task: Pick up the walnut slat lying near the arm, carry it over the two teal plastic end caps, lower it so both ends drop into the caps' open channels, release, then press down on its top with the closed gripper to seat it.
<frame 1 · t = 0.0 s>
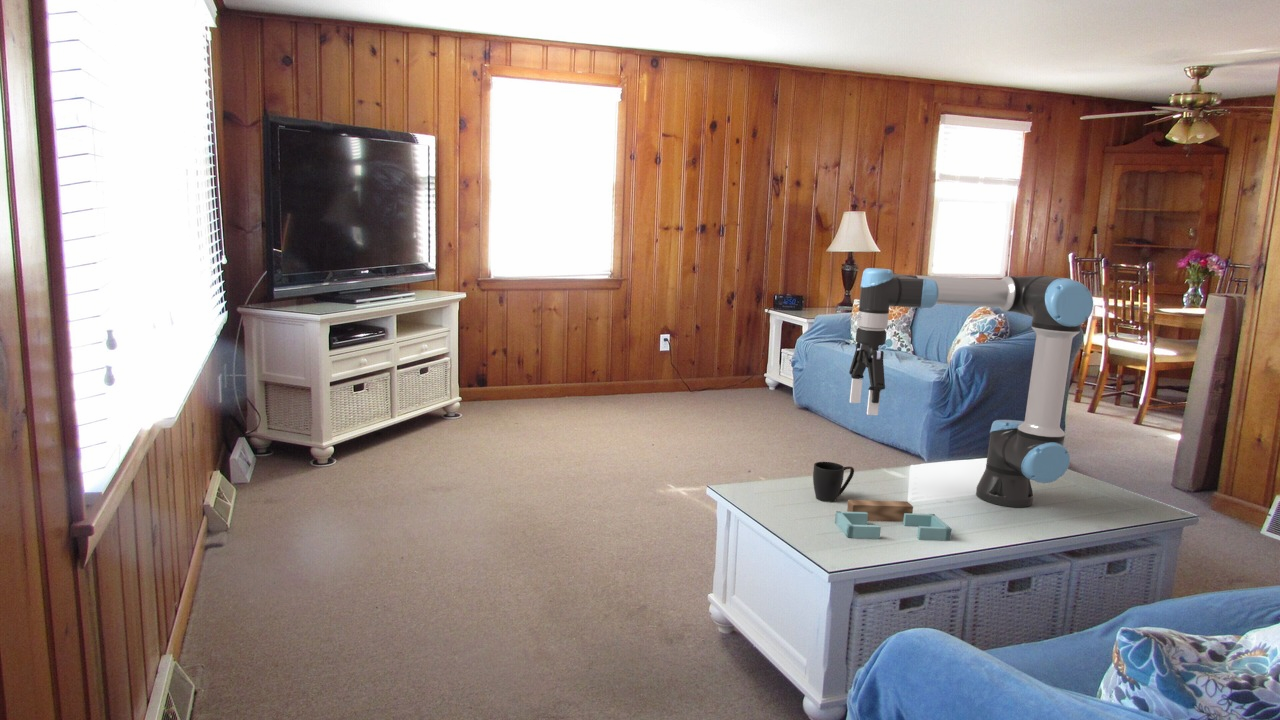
hand: (863, 408, 225), 28 cm above the table, fingers open, 13 cm apart
mug: (831, 499, 239), on the table
cap a: (926, 532, 217), on the table
cap b: (856, 530, 215), on the table
slat: (878, 519, 225), on the table
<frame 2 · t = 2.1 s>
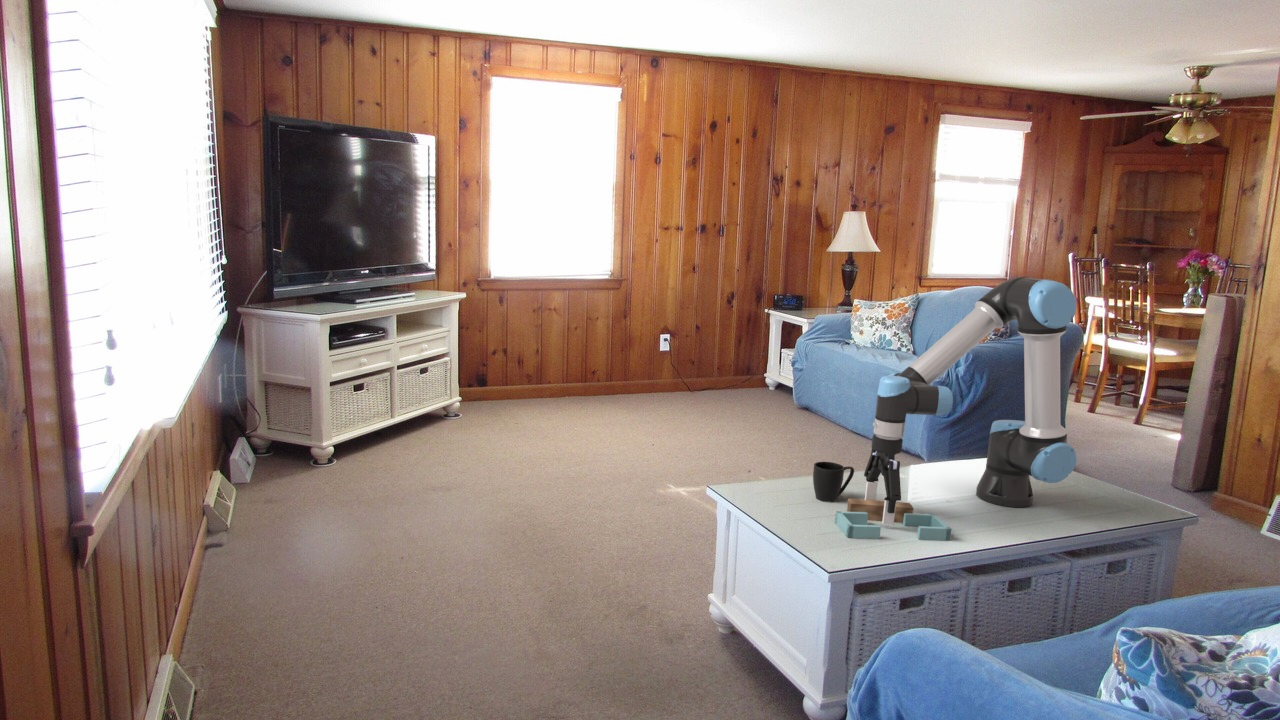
hand: (878, 514, 224), 1 cm above the table, fingers open, 13 cm apart
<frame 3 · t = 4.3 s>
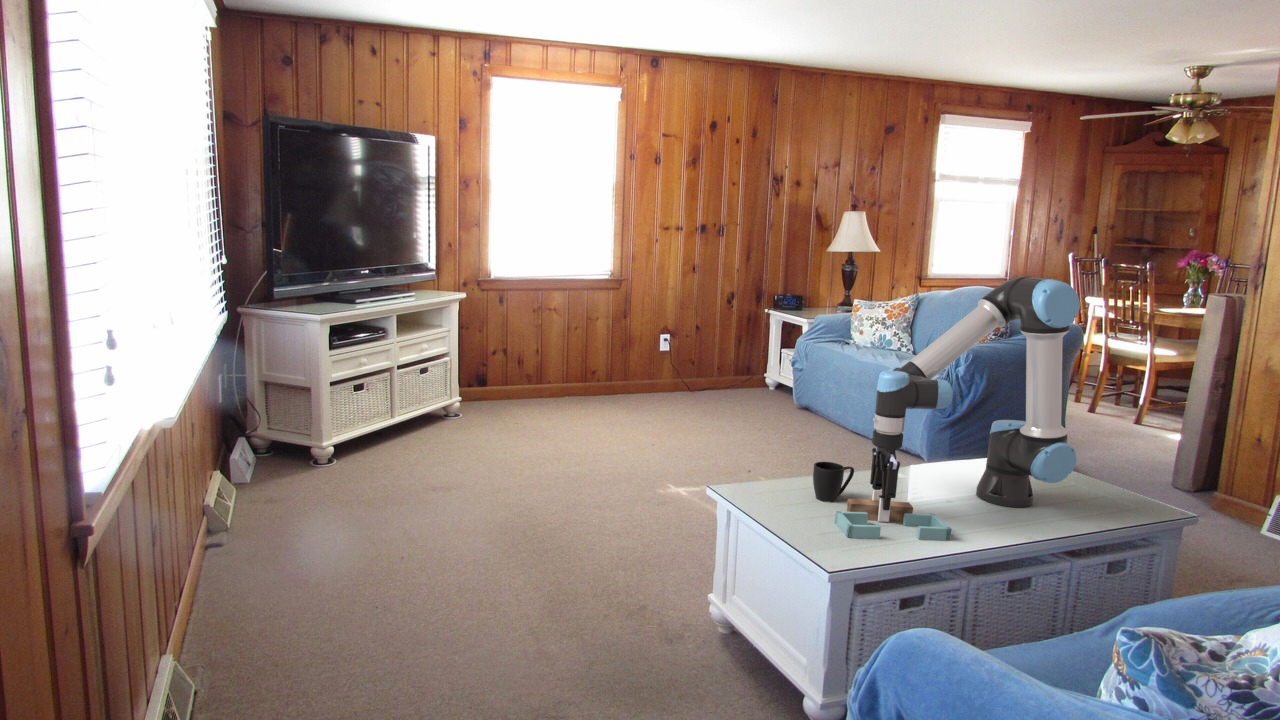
hand: (879, 517, 225), 0 cm above the table, fingers closed on slat, 4 cm apart
slat: (878, 519, 225), on the table, touching gripper
everything else where it was.
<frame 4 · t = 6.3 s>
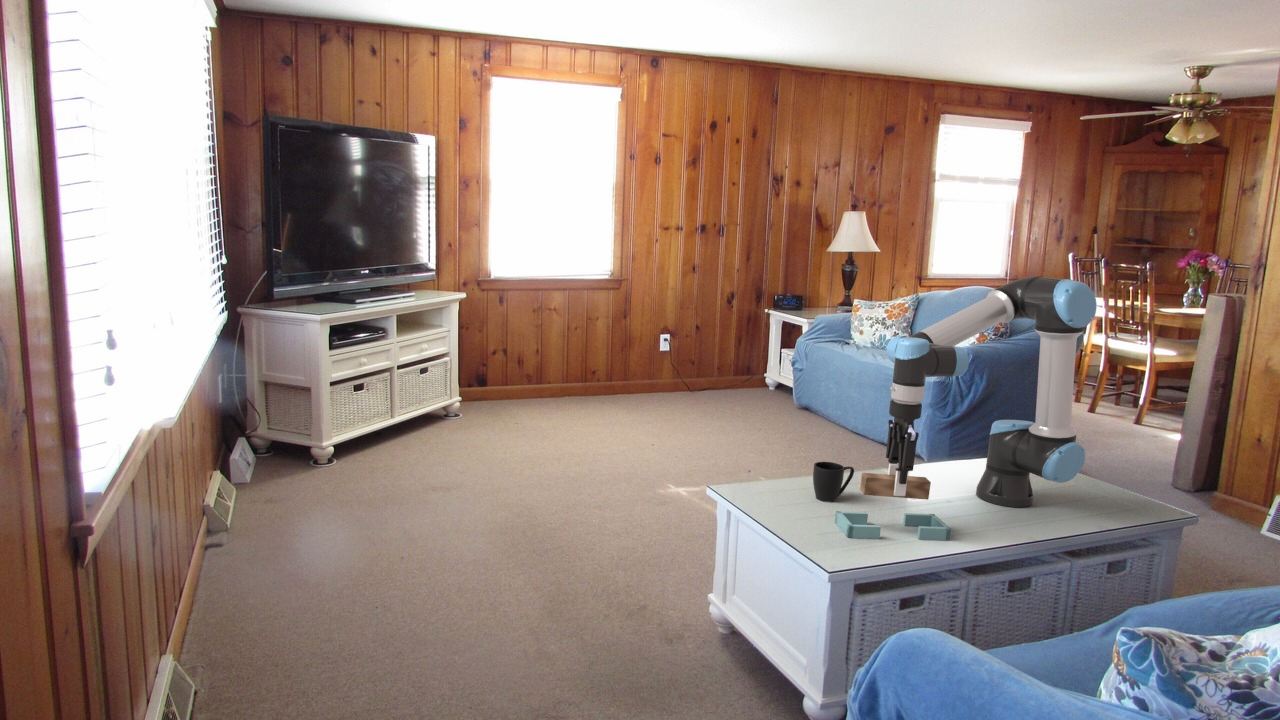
hand: (895, 492, 214), 10 cm above the table, fingers closed on slat, 4 cm apart
slat: (893, 494, 214), point 10 cm above the table, touching gripper
everything else where it was.
when the fingers open (1 cm above the table, at t = 8.0 s): slat stays where it is, on the table.
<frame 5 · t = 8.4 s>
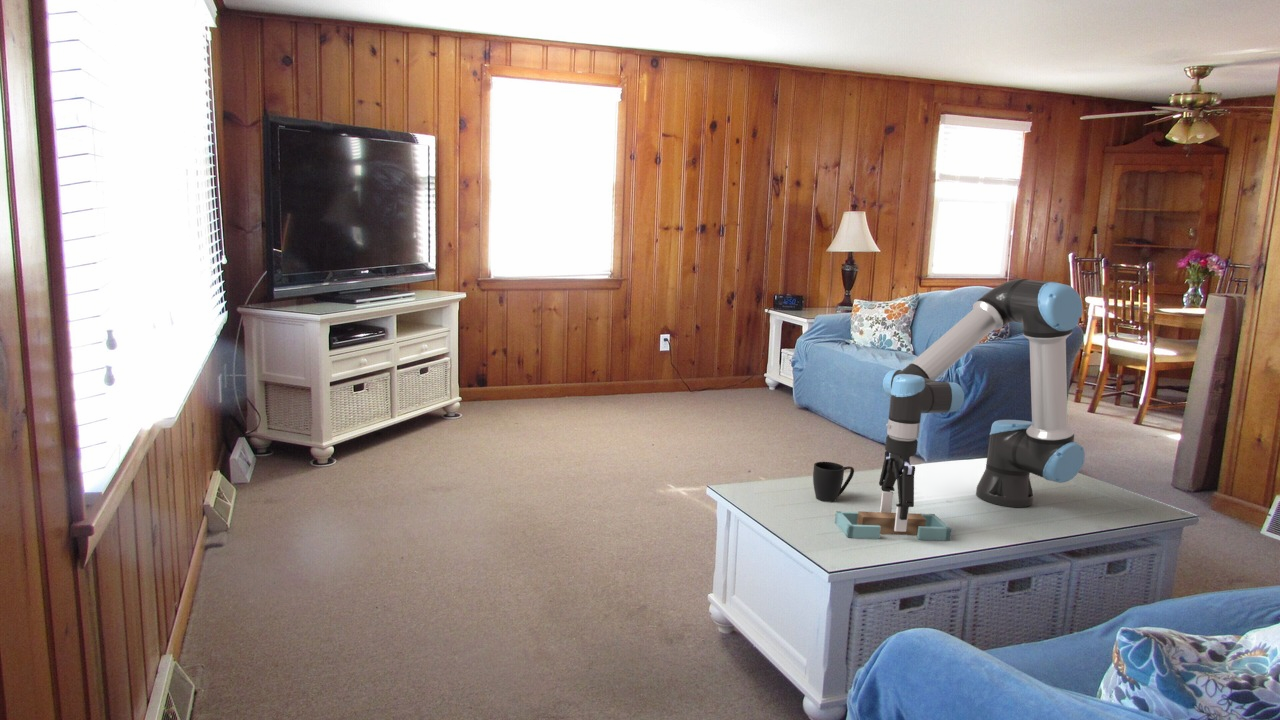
hand: (892, 523, 216), 2 cm above the table, fingers open, 9 cm apart
slat: (890, 532, 216), on the table
everything else where it was.
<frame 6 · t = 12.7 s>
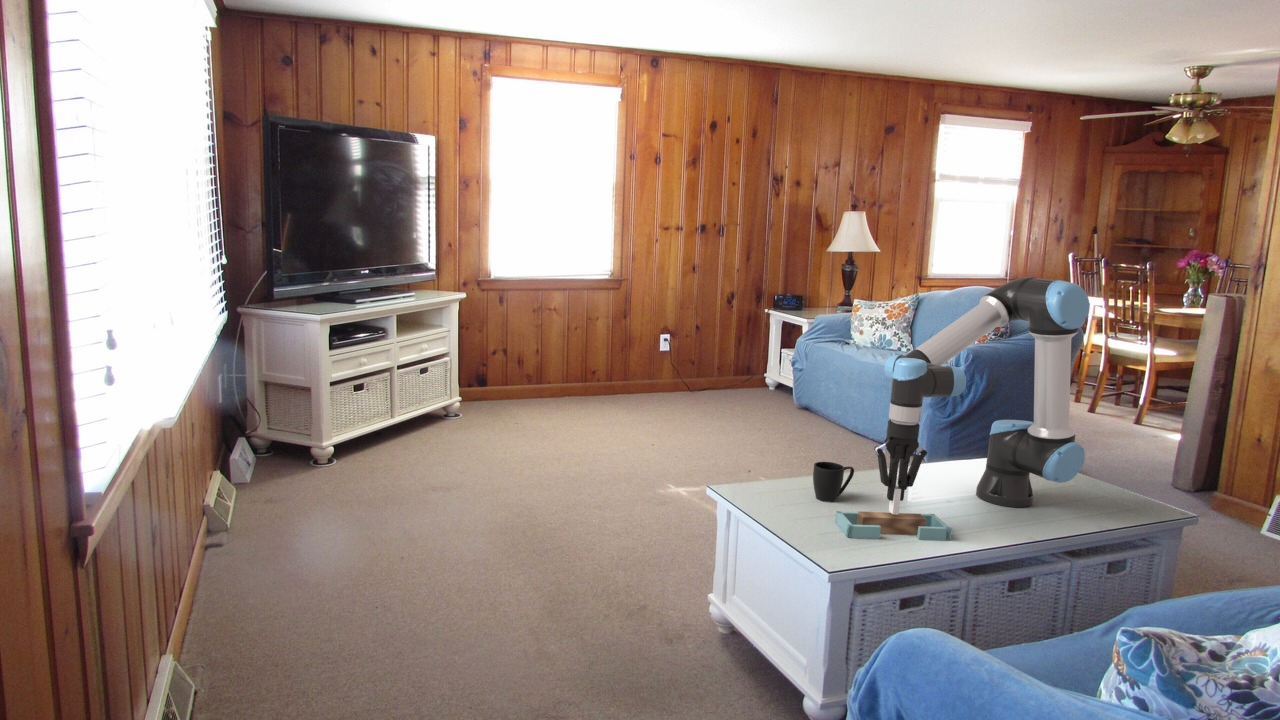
hand: (893, 512, 215), 5 cm above the table, fingers closed
nothing on the table moved.
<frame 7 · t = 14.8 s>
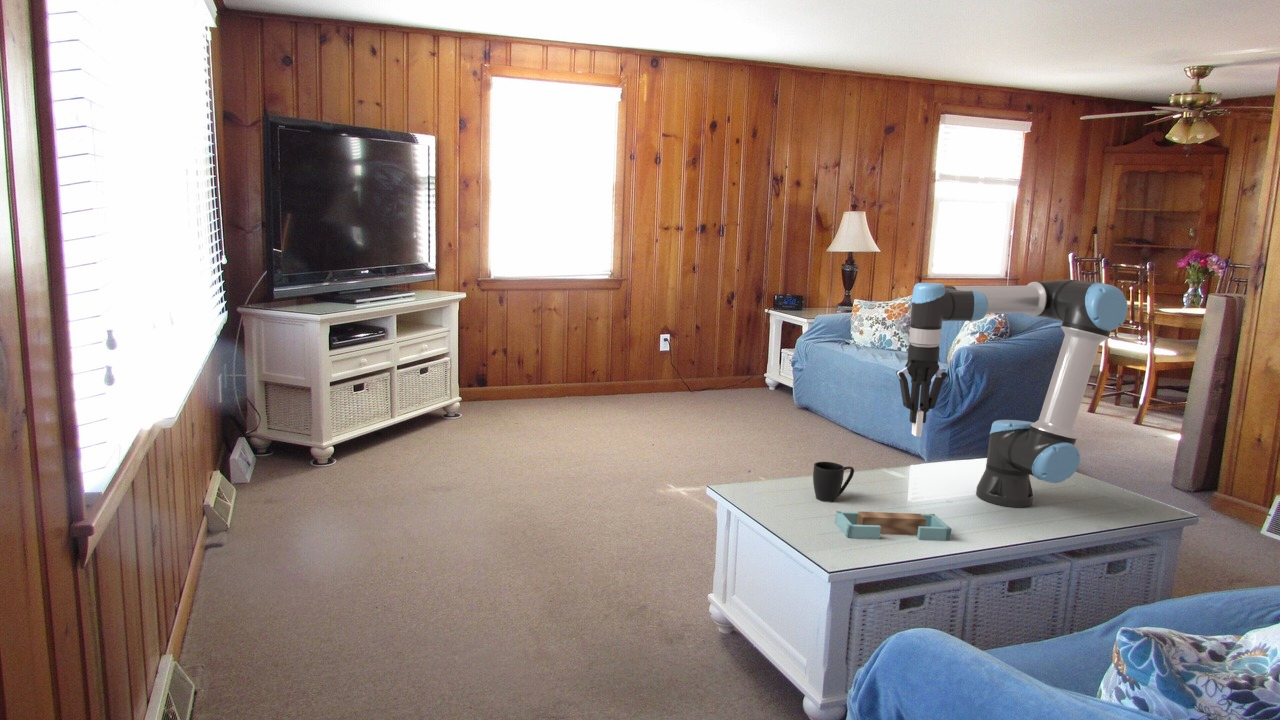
hand: (916, 435, 220), 23 cm above the table, fingers closed
nothing on the table moved.
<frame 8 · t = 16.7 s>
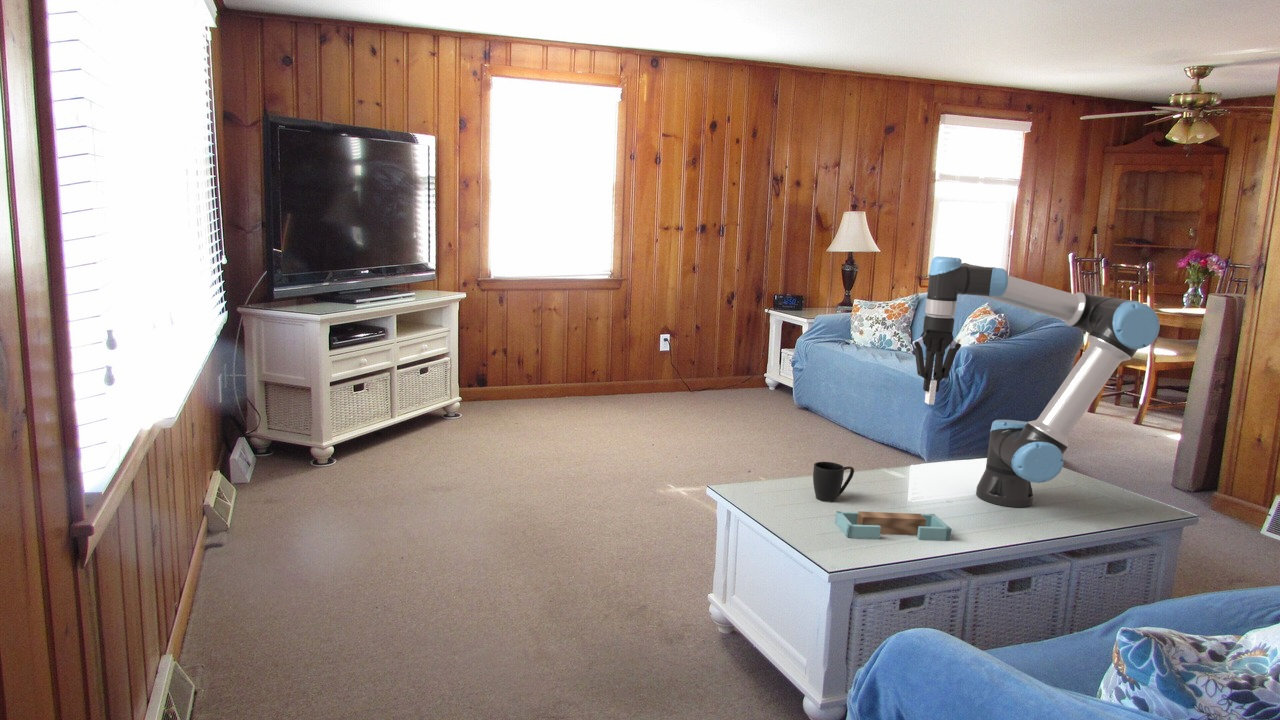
hand: (929, 403, 230), 29 cm above the table, fingers closed
nothing on the table moved.
at the end: slat 0.3 cm from the target spot, on the table; slat tilted 0°; the gripper is holding nothing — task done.
